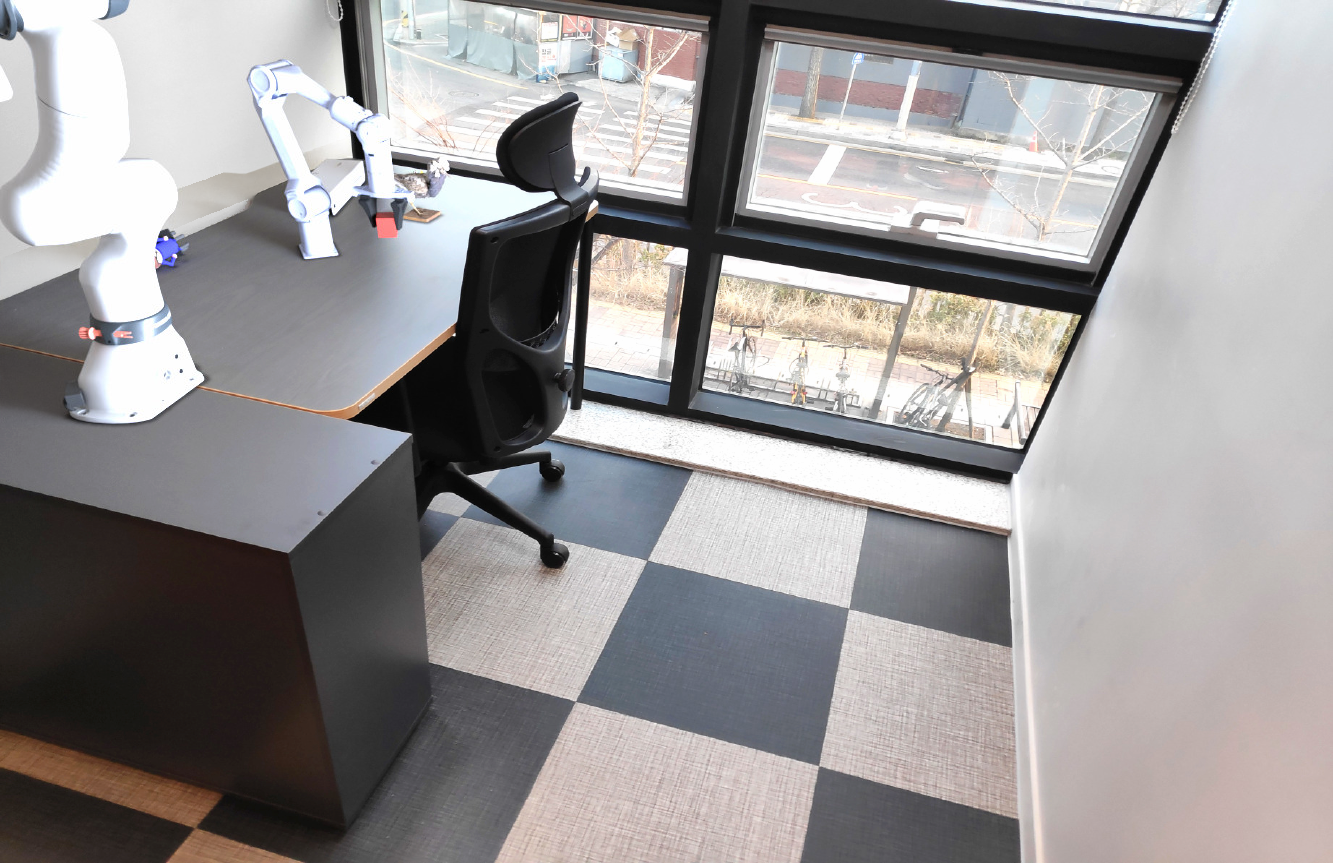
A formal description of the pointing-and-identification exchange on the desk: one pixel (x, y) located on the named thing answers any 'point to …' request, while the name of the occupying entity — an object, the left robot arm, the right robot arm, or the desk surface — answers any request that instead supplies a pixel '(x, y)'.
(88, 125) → the left robot arm
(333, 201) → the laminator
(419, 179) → the stuffed bird
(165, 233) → the character figurine
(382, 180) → the right robot arm
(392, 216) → the brick
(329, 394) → the desk surface
